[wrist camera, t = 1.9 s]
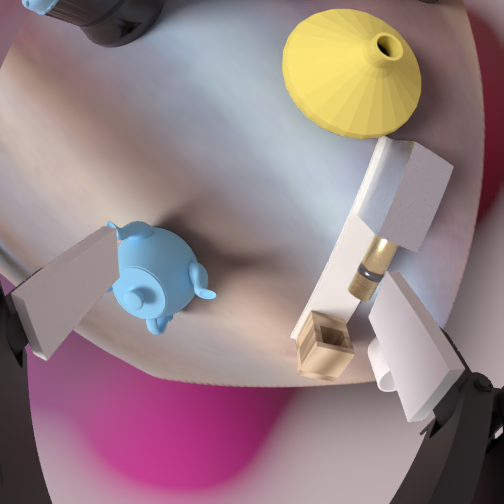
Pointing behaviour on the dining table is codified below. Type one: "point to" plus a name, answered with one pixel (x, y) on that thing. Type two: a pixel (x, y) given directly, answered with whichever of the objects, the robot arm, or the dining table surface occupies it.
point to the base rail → (344, 259)
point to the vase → (351, 73)
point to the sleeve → (405, 193)
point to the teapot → (156, 274)
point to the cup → (380, 367)
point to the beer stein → (429, 1)
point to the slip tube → (372, 268)
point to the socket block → (323, 347)
